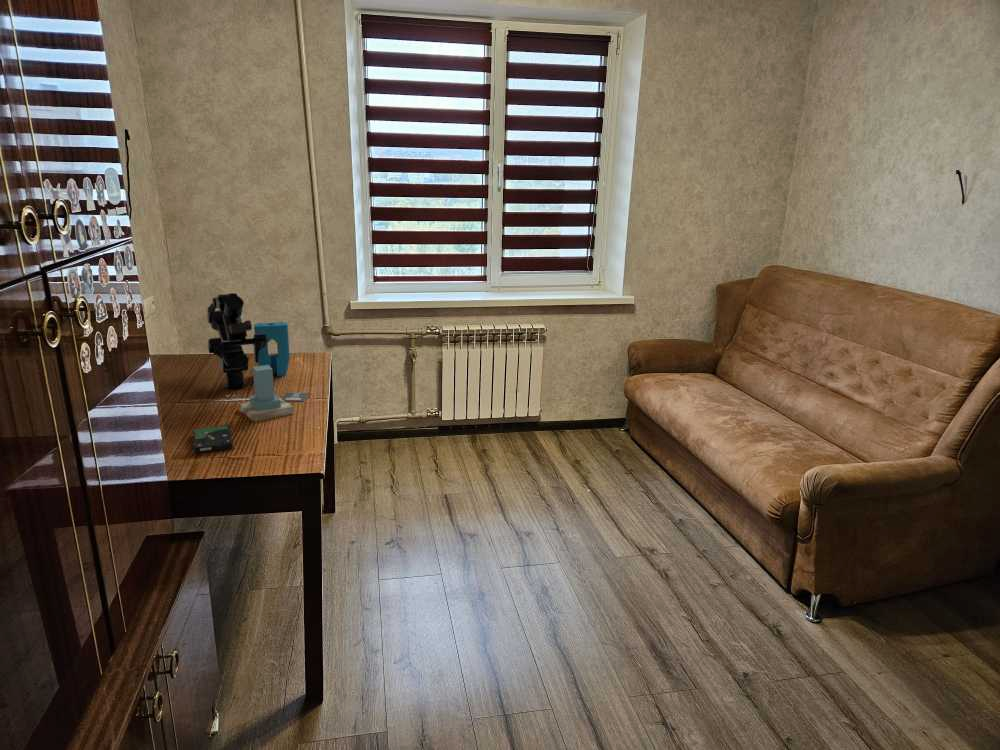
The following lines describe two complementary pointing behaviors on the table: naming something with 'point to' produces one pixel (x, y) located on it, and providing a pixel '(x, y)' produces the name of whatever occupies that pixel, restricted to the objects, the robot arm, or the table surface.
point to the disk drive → (212, 439)
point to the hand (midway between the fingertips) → (242, 364)
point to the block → (281, 337)
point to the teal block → (264, 389)
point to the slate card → (295, 397)
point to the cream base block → (265, 411)
